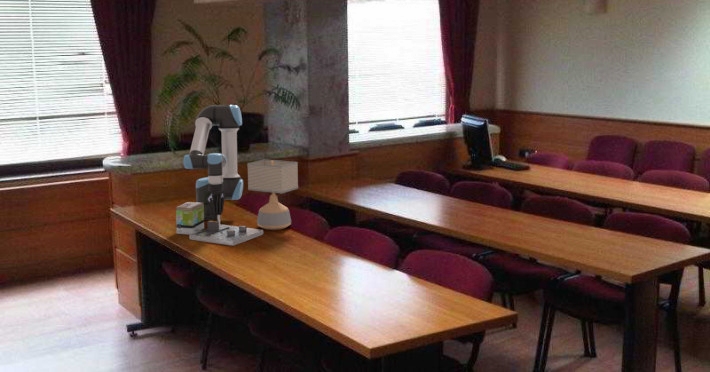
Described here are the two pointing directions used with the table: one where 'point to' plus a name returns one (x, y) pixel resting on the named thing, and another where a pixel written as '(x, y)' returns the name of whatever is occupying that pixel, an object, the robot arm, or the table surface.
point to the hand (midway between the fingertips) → (217, 226)
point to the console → (227, 235)
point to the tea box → (190, 217)
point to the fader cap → (213, 226)
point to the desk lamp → (273, 190)
